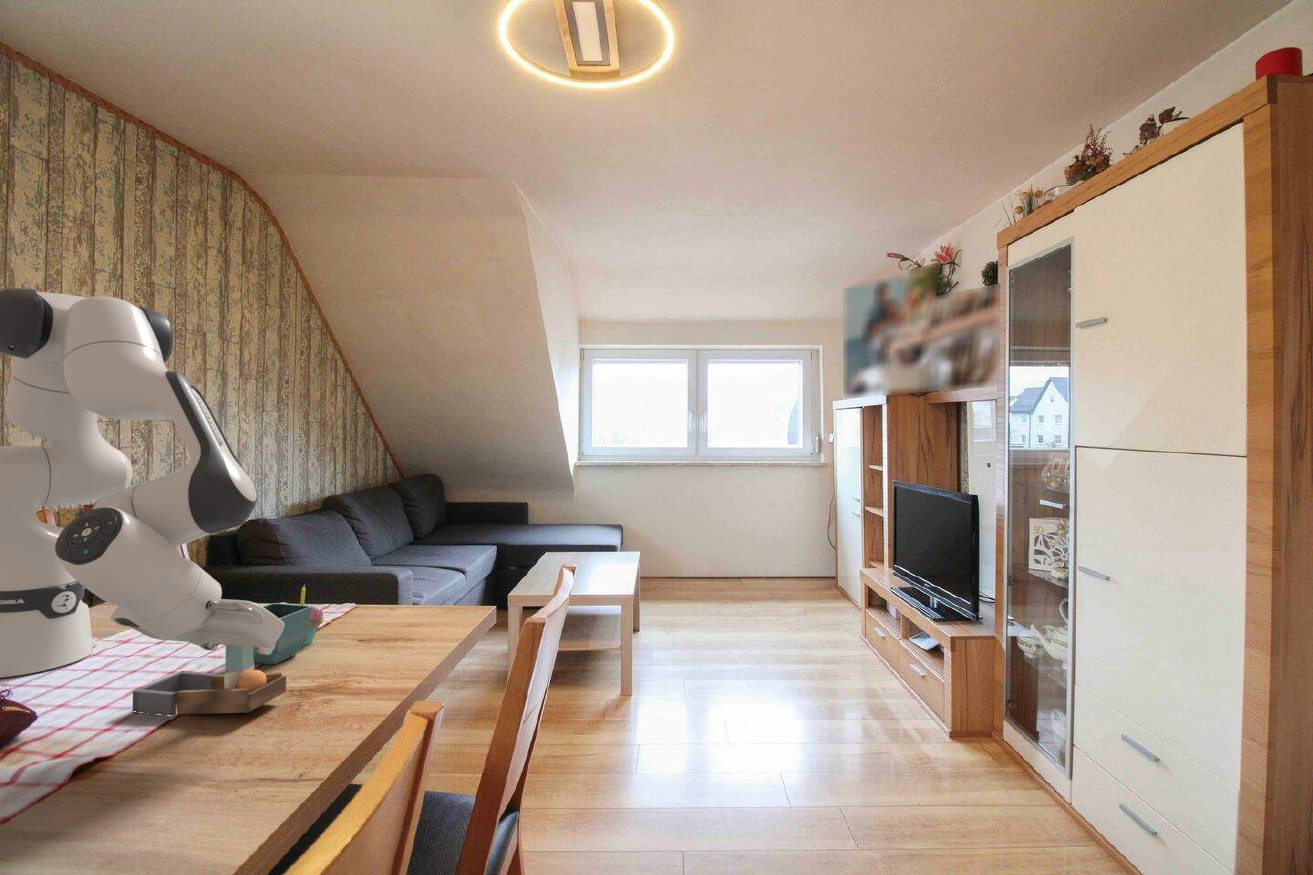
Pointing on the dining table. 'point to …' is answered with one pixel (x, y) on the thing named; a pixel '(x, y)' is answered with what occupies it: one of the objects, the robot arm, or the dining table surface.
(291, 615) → the flower pot
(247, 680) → the ball
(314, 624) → the cupcake
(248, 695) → the hexagonal shallow dish
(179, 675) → the grey low frame
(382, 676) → the dining table surface
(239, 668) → the rectangular block
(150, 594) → the robot arm
